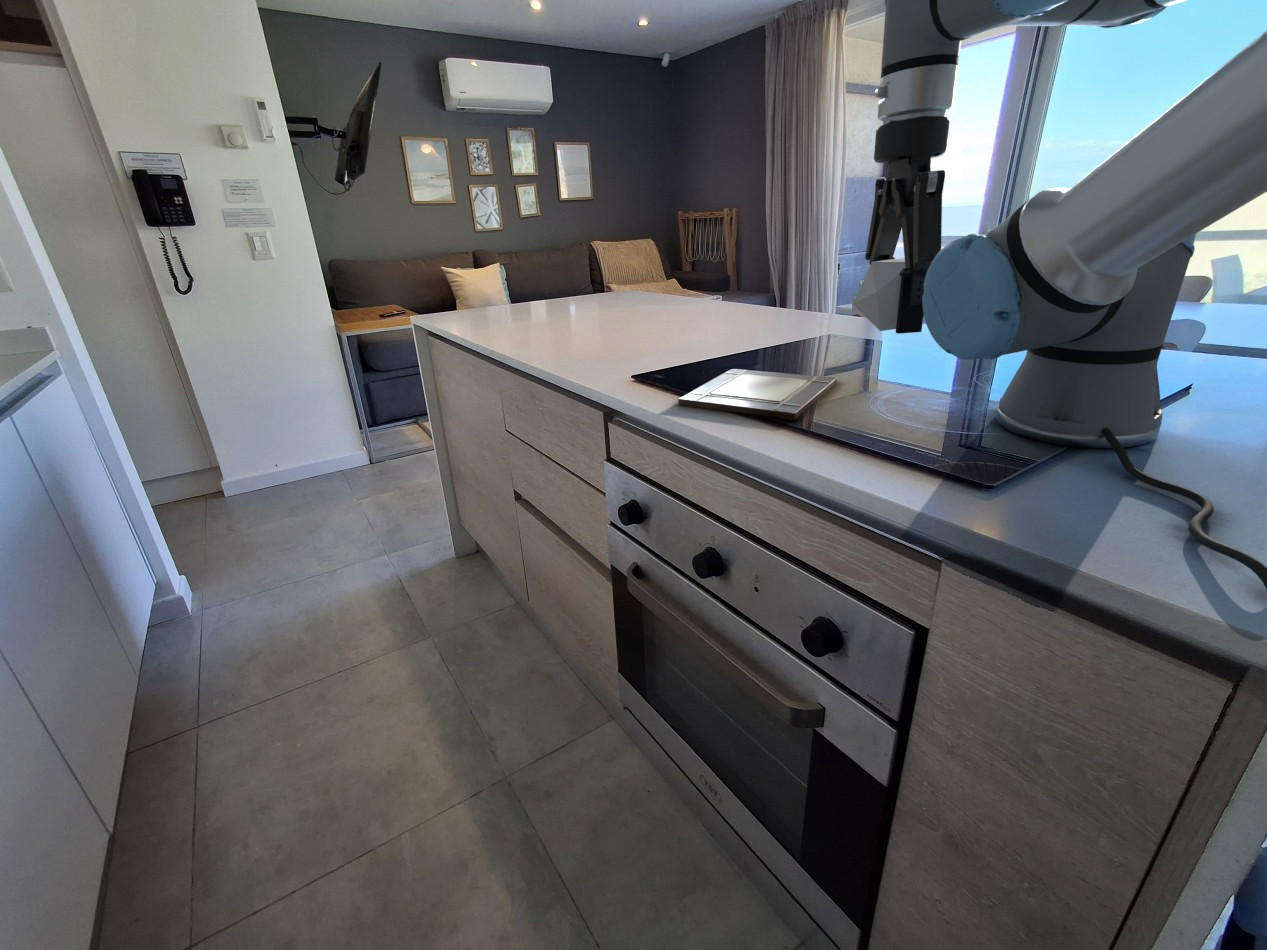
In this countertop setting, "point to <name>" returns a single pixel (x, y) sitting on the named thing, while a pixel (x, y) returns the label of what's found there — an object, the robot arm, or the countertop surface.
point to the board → (760, 393)
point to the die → (881, 293)
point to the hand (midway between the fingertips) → (892, 324)
